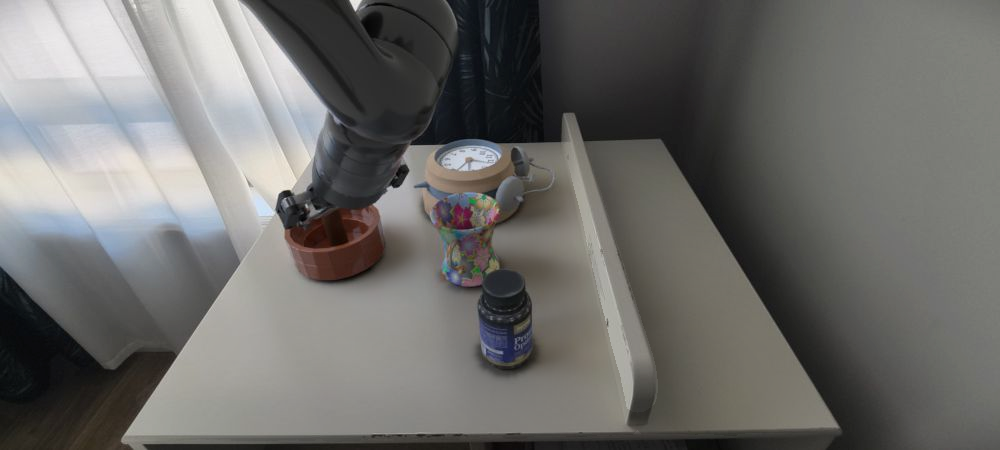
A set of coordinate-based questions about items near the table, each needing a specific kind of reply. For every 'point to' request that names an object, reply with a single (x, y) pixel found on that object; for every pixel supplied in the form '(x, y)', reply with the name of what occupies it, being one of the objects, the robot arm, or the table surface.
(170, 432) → the table surface
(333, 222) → the stick
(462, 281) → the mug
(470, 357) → the table surface
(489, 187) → the alarm clock
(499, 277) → the pill bottle
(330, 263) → the bowl
